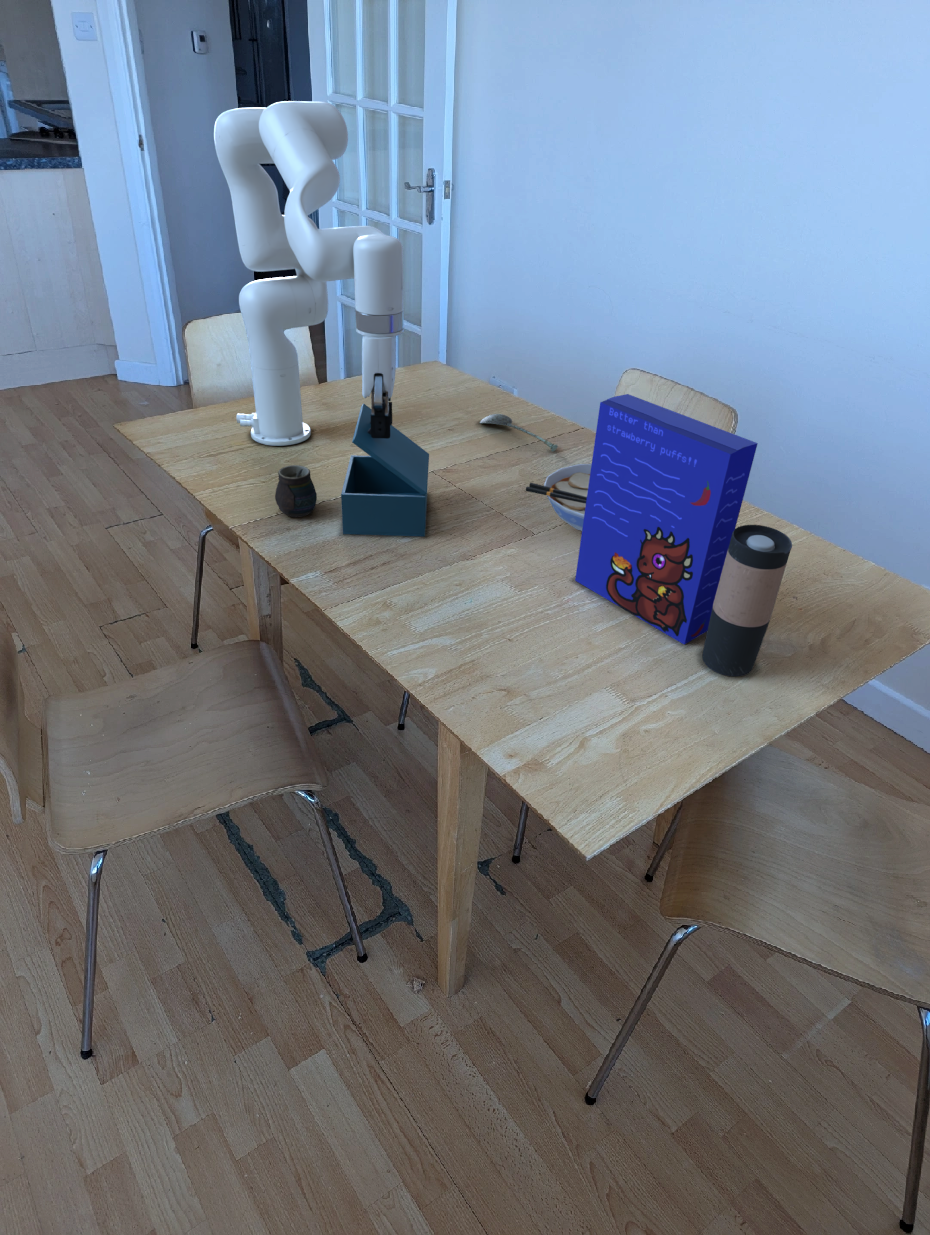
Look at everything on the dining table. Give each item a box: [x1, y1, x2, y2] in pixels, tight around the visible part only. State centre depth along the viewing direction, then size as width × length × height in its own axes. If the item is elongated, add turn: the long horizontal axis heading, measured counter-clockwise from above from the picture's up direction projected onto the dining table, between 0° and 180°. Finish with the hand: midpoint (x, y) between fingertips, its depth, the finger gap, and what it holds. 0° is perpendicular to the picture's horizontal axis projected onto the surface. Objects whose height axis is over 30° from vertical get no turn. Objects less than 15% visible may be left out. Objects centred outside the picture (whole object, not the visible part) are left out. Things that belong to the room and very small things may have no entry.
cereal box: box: [574, 393, 758, 645], centre depth 119 cm, size 22×6×30 cm, turn 40°
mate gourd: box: [274, 464, 318, 518], centre depth 145 cm, size 7×8×10 cm
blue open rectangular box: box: [340, 454, 429, 538], centre depth 147 cm, size 14×16×8 cm
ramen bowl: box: [525, 463, 592, 532], centre depth 146 cm, size 25×23×8 cm
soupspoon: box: [479, 413, 559, 453], centre depth 181 cm, size 22×3×7 cm
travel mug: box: [701, 524, 793, 678], centre depth 111 cm, size 8×8×20 cm
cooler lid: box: [351, 402, 430, 496], centre depth 141 cm, size 15×16×5 cm
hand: (381, 430), depth 140 cm, fingers closed on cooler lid, 5 cm apart
